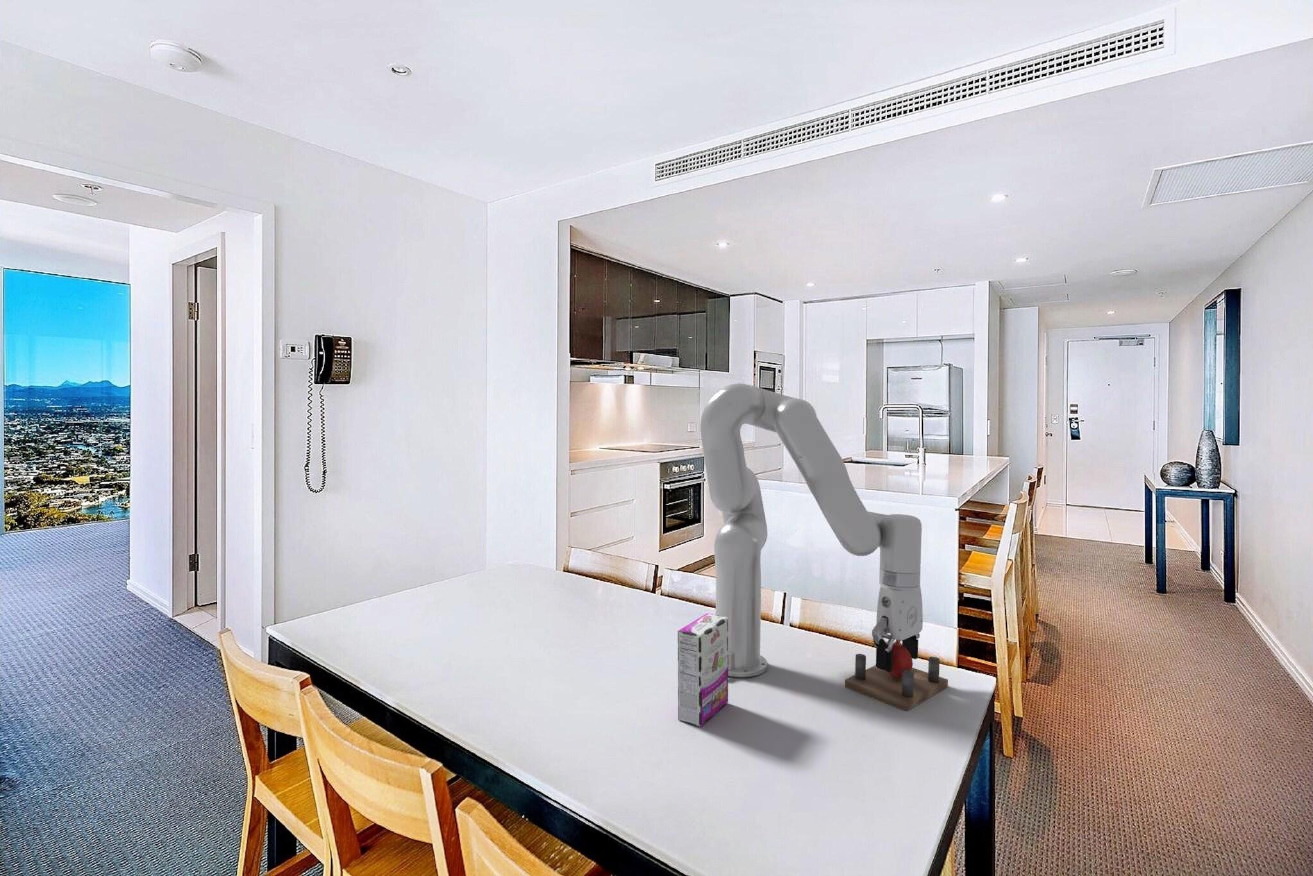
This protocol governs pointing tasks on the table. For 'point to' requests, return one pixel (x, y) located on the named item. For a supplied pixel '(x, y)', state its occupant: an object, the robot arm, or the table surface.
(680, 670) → the candy bar box
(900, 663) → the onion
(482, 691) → the table surface
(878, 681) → the peg holder
